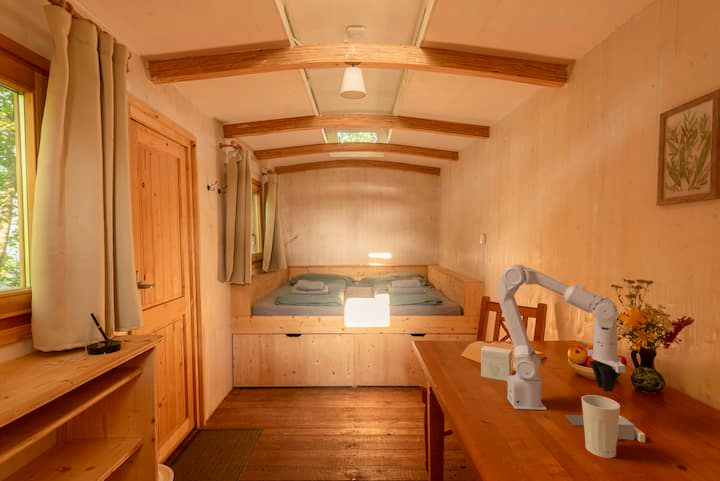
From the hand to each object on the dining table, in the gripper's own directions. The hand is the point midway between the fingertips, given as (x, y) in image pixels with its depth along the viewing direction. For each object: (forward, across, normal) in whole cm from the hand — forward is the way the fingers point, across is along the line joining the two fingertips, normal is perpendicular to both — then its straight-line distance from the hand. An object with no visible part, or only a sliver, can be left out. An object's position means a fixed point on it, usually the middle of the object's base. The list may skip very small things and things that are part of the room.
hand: (605, 389), depth 103 cm
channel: (+9, -4, 0) cm, 10 cm away
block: (+10, -7, 0) cm, 12 cm away
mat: (+9, 0, +7) cm, 12 cm away
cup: (+10, -14, +9) cm, 20 cm away
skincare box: (+10, +33, +20) cm, 40 cm away
